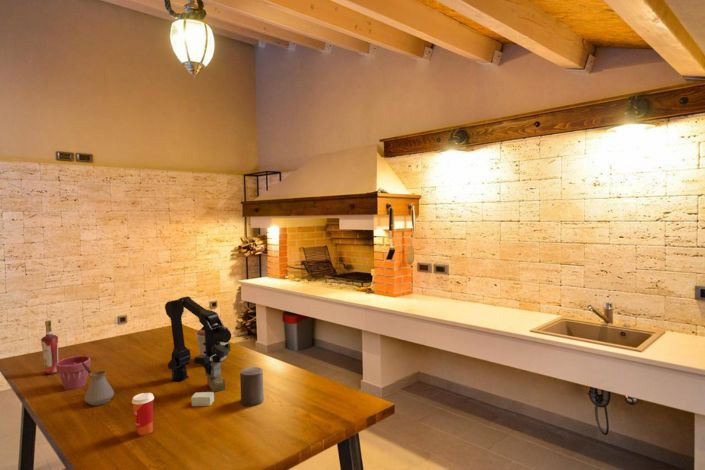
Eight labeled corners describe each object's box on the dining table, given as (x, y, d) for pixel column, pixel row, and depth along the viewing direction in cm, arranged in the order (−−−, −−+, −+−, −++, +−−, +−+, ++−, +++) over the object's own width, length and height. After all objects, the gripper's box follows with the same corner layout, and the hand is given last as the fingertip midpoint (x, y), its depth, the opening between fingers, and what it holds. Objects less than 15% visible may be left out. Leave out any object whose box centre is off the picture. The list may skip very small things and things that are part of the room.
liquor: (40, 374, 232) (36, 322, 230) (54, 369, 238) (50, 318, 236) (49, 376, 229) (45, 323, 227) (63, 371, 236) (59, 319, 234)
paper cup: (138, 427, 172) (136, 392, 171) (159, 426, 172) (156, 391, 171) (130, 438, 164) (127, 401, 163) (151, 436, 165) (149, 400, 164)
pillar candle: (244, 408, 185) (242, 373, 184) (238, 399, 194) (237, 366, 193) (266, 403, 190) (265, 369, 189) (260, 394, 199) (259, 362, 198)
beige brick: (191, 406, 189) (191, 397, 189) (195, 401, 194) (195, 392, 194) (210, 406, 189) (210, 397, 189) (214, 400, 194) (213, 392, 194)
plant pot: (96, 385, 215) (94, 359, 214) (62, 394, 205) (60, 368, 204) (86, 377, 225) (84, 353, 224) (54, 386, 215) (52, 361, 214)
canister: (238, 358, 248) (236, 321, 246) (212, 368, 233) (210, 329, 231) (216, 353, 258) (214, 317, 256) (190, 362, 242) (187, 325, 241)
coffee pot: (119, 399, 198) (117, 367, 196) (91, 410, 188) (89, 375, 187) (97, 389, 210) (95, 358, 209) (71, 398, 201) (68, 366, 200)
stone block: (213, 393, 202) (213, 382, 202) (206, 385, 212) (206, 375, 211) (226, 389, 205) (225, 379, 205) (218, 382, 215) (218, 372, 214)
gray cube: (205, 375, 206) (204, 365, 205) (212, 371, 210) (211, 361, 210) (214, 377, 204) (213, 366, 204) (221, 373, 209) (220, 362, 208)
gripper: (212, 347, 195) (214, 381, 196) (237, 335, 212) (239, 367, 213) (192, 345, 198) (194, 379, 200) (218, 333, 216) (220, 364, 217)
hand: (213, 372), depth 207 cm, fingers closed on gray cube, 5 cm apart
